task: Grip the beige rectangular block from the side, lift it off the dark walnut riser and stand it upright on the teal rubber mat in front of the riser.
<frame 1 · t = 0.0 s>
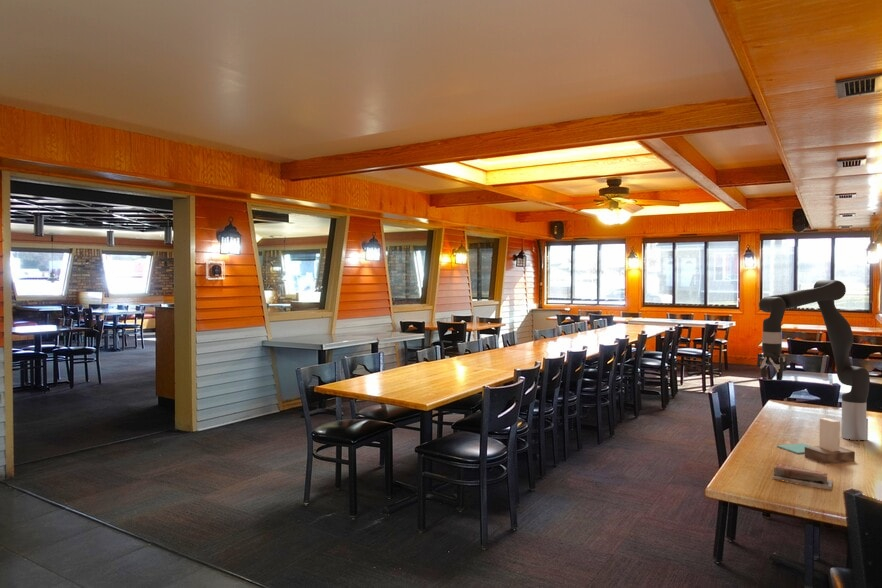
hand: (771, 378, 254), 29 cm above the table, tool pointing down, fingers open, 8 cm apart
packaged product: (802, 482, 208), on the table
mat: (800, 449, 247), on the table
beige rectangular block: (829, 449, 234), point 4 cm above the table, touching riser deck
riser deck: (829, 459, 234), on the table
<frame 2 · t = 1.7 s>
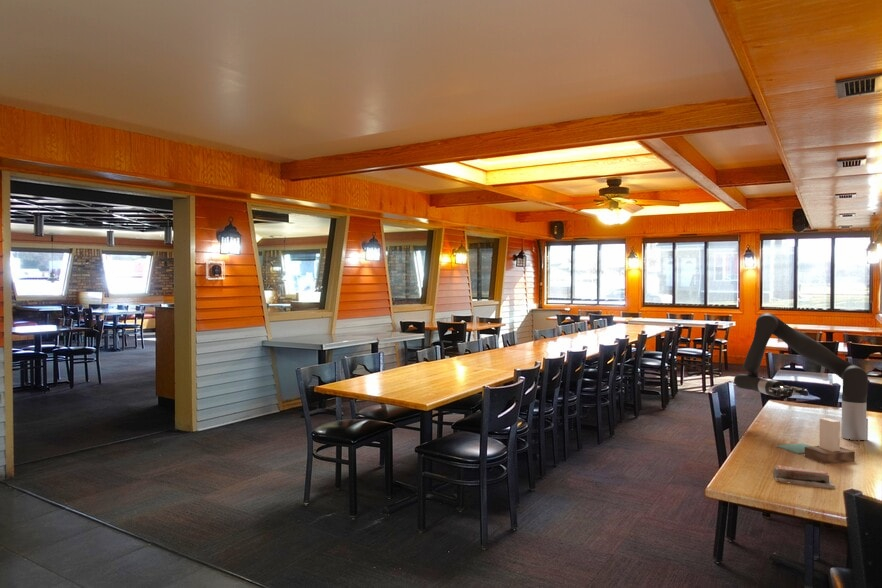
hand: (799, 394, 257), 22 cm above the table, tool horizontal, fingers open, 8 cm apart
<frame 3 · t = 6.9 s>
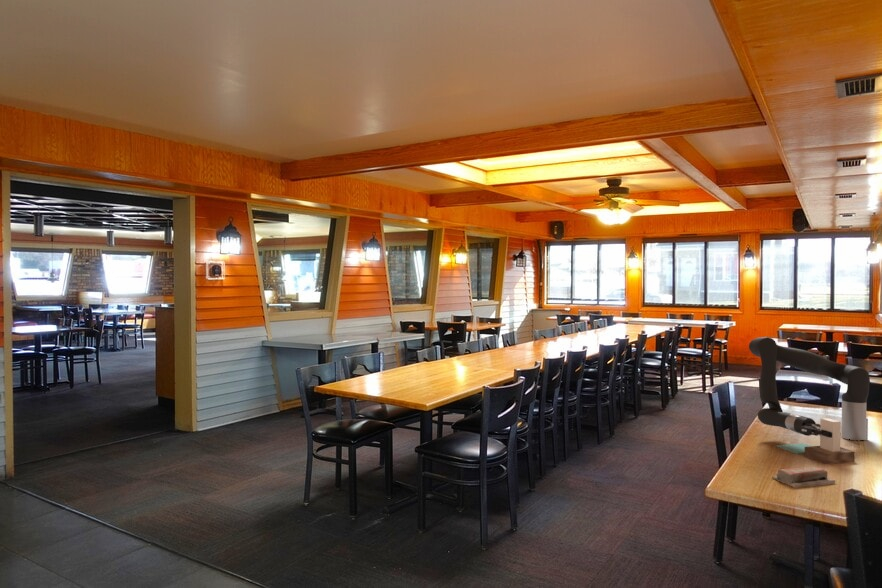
hand: (835, 434, 231), 11 cm above the table, tool horizontal, fingers closed on beige rectangular block, 3 cm apart
beige rectangular block: (830, 449, 233), point 4 cm above the table, touching gripper, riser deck
when the fingers open (9 cm above the table, at t = 11.1 s): beige rectangular block drops 1 cm, resting on mat.
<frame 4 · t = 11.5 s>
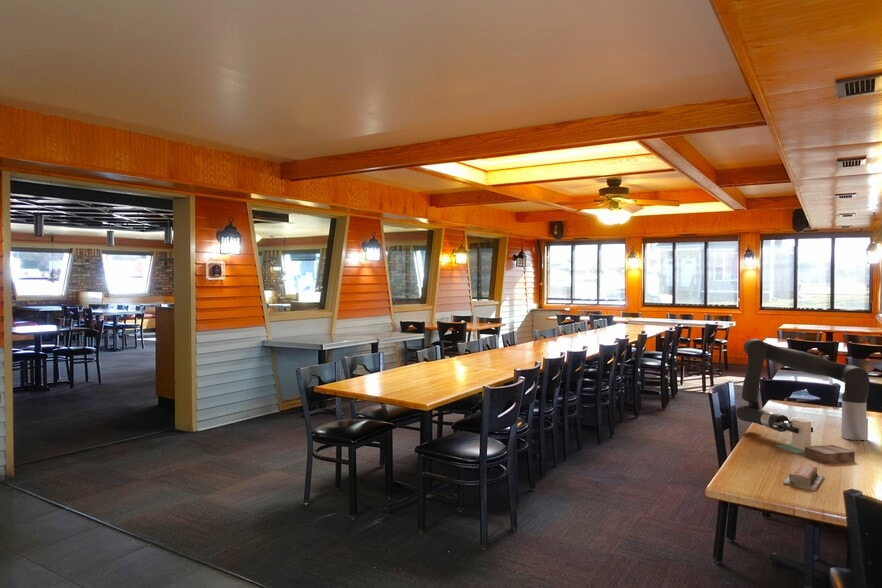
hand: (805, 430, 245), 9 cm above the table, tool horizontal, fingers open, 6 cm apart
beige rectangular block: (801, 448, 247), point 1 cm above the table, touching mat
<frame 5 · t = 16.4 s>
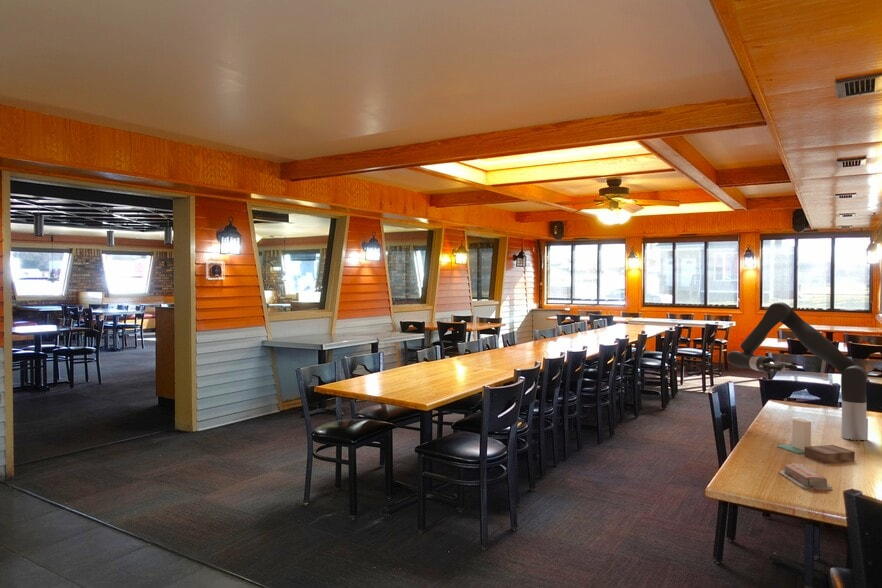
hand: (788, 368, 266), 32 cm above the table, tool horizontal, fingers open, 8 cm apart
at the end: beige rectangular block inside the target area on the mat (0.4 cm from its centre), point 0.6 cm above the mat's base; beige rectangular block tilted 0°; the gripper is holding nothing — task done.
